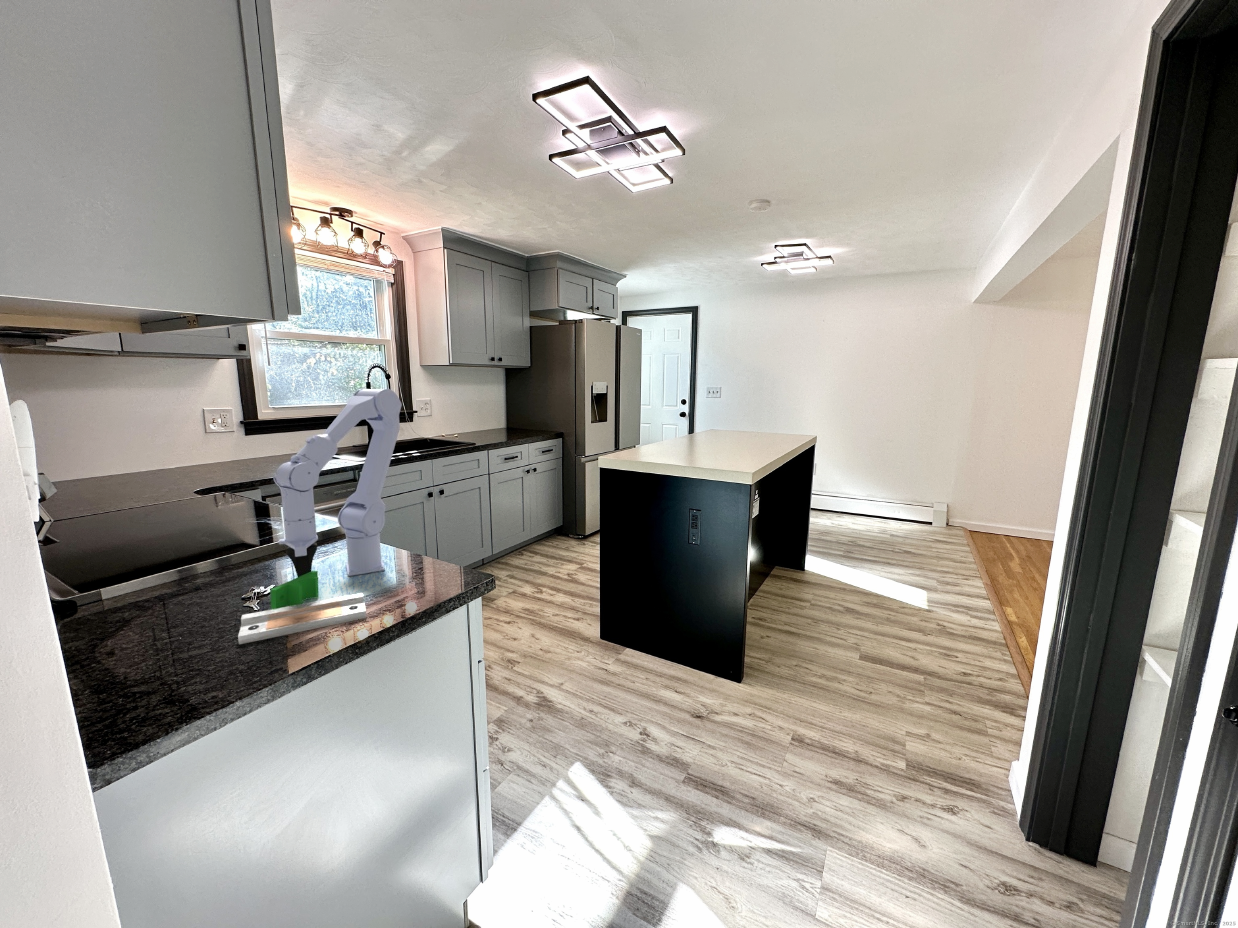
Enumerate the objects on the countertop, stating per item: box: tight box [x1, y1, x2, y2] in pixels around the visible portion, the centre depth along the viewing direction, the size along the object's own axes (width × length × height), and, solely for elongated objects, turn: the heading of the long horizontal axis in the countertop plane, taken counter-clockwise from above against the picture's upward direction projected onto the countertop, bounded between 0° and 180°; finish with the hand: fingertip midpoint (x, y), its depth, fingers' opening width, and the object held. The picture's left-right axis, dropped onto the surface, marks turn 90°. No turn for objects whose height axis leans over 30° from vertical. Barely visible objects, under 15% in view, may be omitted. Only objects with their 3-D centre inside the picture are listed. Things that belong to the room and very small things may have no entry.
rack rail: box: [237, 592, 367, 645], centre depth 95 cm, size 7×20×2 cm, turn 121°
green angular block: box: [269, 570, 319, 610], centre depth 105 cm, size 11×4×5 cm, turn 171°
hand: (304, 578), depth 110 cm, fingers closed
